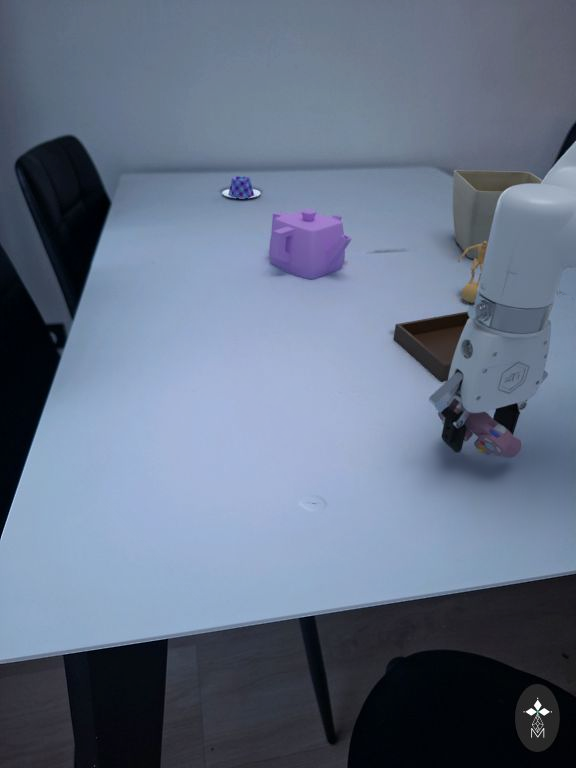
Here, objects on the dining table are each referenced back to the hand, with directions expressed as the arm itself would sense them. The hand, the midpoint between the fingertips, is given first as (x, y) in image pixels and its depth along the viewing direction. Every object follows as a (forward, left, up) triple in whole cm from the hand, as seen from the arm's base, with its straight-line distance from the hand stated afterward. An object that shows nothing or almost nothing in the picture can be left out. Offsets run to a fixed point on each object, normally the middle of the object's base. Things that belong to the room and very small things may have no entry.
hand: (476, 436), depth 66 cm
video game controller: (0, 0, -1) cm, 1 cm away
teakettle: (-6, -66, -4) cm, 66 cm away
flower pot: (-52, -61, -4) cm, 81 cm away
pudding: (-9, -126, -4) cm, 126 cm away
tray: (-15, -23, -3) cm, 28 cm away
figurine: (-30, -39, -4) cm, 50 cm away
